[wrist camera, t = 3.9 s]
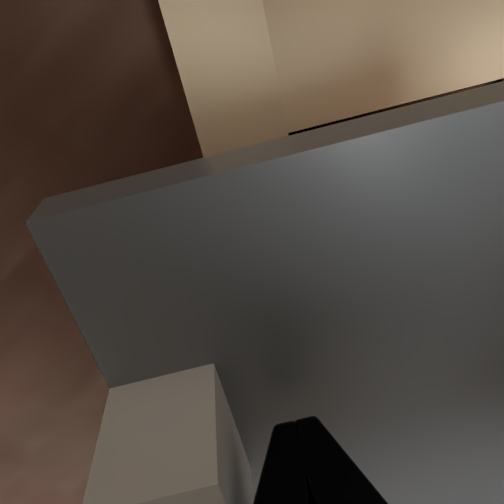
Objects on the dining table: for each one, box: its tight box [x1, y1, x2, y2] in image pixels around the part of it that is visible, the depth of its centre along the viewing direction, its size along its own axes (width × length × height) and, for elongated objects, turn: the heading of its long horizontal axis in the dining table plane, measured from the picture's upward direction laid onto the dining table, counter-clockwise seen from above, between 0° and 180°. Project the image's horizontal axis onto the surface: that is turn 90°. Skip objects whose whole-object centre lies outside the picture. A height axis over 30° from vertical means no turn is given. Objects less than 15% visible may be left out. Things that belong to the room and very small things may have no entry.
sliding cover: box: [25, 81, 504, 504], centre depth 10 cm, size 13×10×5 cm
